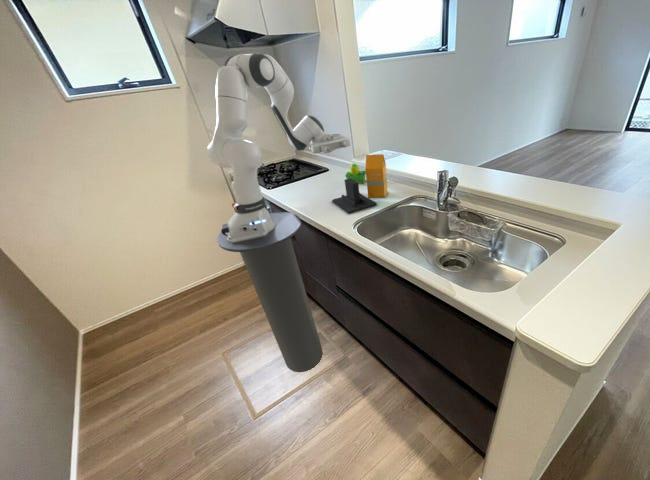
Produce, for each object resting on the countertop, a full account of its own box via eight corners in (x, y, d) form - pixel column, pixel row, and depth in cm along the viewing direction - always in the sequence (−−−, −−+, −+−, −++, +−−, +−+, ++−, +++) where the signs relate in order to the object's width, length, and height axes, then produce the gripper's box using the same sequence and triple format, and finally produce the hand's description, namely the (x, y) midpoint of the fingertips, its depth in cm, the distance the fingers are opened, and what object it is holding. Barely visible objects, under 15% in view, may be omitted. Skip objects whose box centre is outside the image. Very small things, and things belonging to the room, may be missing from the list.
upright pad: (355, 204, 144) (352, 184, 138) (347, 199, 150) (344, 179, 144) (360, 203, 145) (358, 182, 139) (352, 197, 151) (349, 178, 146)
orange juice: (384, 197, 151) (382, 156, 139) (368, 197, 153) (363, 157, 141) (387, 192, 157) (385, 152, 145) (371, 192, 159) (367, 152, 147)
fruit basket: (367, 179, 178) (365, 159, 171) (365, 184, 170) (362, 164, 164) (348, 180, 180) (346, 160, 173) (345, 185, 172) (342, 165, 166)
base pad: (349, 214, 138) (348, 207, 136) (332, 201, 153) (331, 195, 151) (376, 205, 143) (376, 199, 141) (358, 194, 158) (357, 188, 156)
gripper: (305, 140, 148) (314, 144, 137) (342, 133, 155) (354, 136, 144) (308, 154, 151) (317, 158, 141) (344, 146, 158) (355, 150, 148)
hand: (336, 147), depth 143 cm, fingers open, 8 cm apart
